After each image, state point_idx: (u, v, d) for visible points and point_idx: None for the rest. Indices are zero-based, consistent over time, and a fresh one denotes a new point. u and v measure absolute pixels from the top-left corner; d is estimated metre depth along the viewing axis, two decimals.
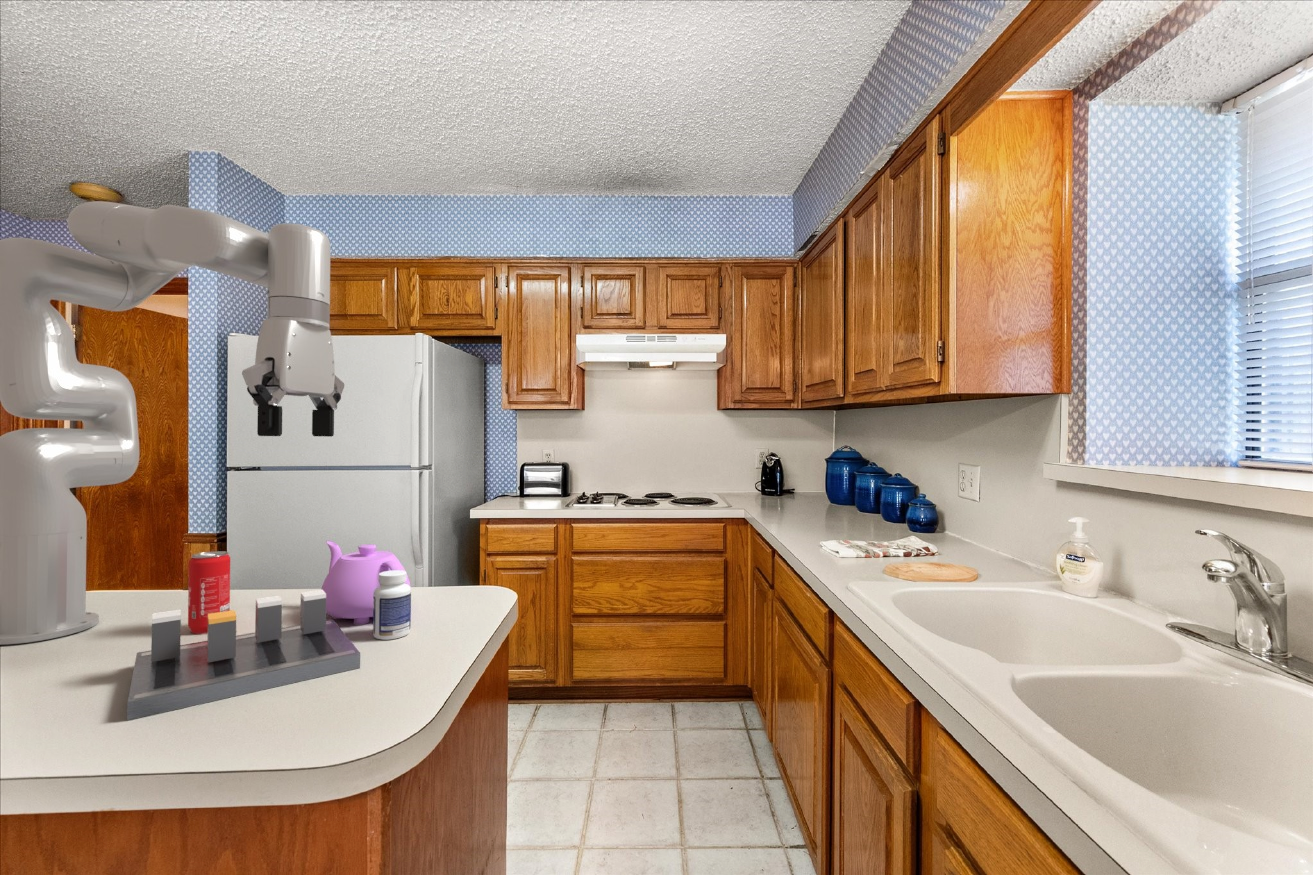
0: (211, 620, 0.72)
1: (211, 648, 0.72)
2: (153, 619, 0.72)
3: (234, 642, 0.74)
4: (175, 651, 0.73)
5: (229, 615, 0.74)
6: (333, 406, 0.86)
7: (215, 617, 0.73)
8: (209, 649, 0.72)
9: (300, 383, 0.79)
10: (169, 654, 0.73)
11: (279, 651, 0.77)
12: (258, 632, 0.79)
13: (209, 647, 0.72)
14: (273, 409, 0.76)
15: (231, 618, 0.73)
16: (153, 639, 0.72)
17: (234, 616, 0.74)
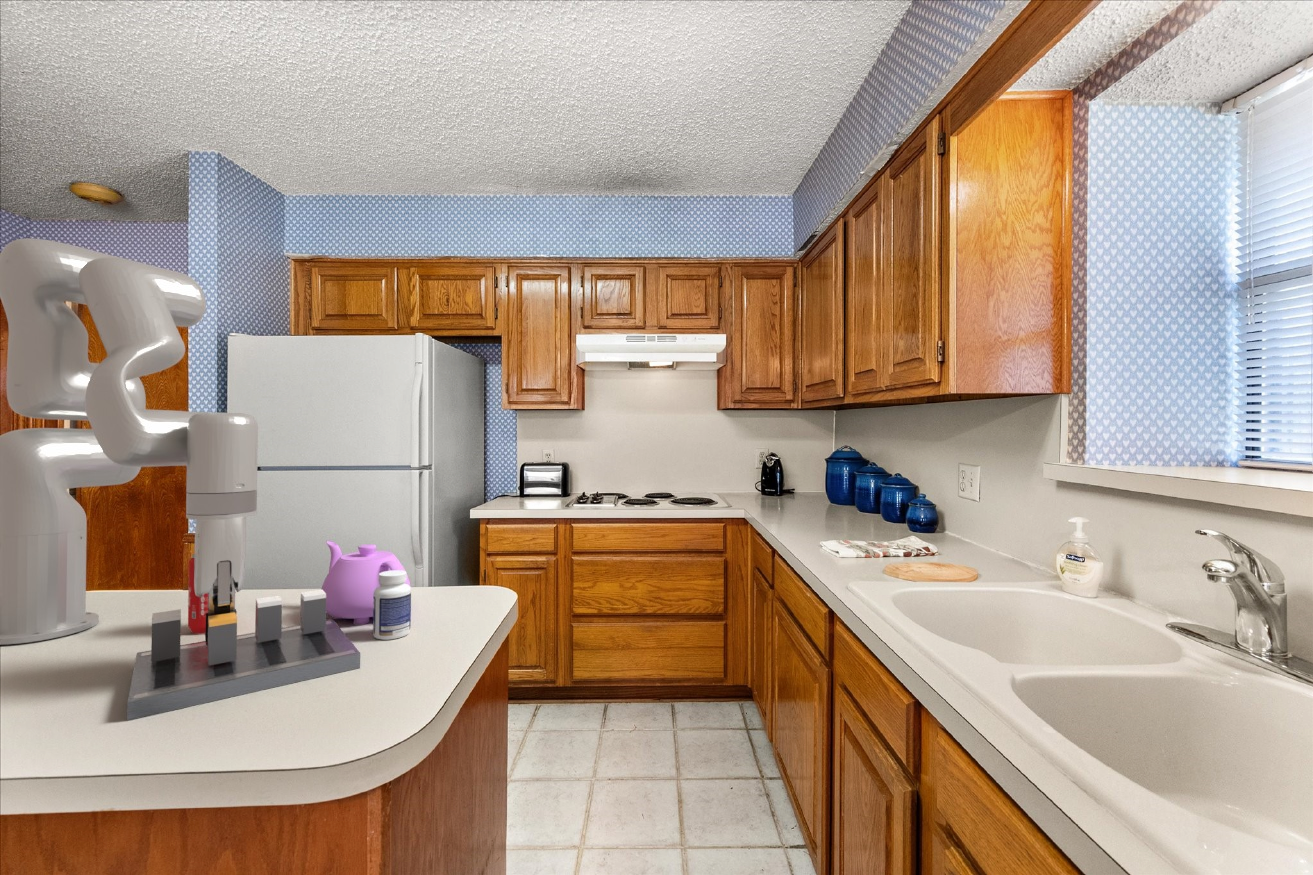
0: (211, 623, 0.71)
1: (212, 651, 0.71)
2: (153, 619, 0.72)
3: (235, 645, 0.73)
4: (175, 651, 0.73)
5: (230, 617, 0.73)
6: None
7: (215, 619, 0.72)
8: (209, 652, 0.71)
9: None
10: (169, 654, 0.73)
11: (279, 651, 0.77)
12: (258, 632, 0.79)
13: (209, 650, 0.71)
14: None
15: (232, 620, 0.72)
16: (153, 639, 0.72)
17: (235, 618, 0.73)
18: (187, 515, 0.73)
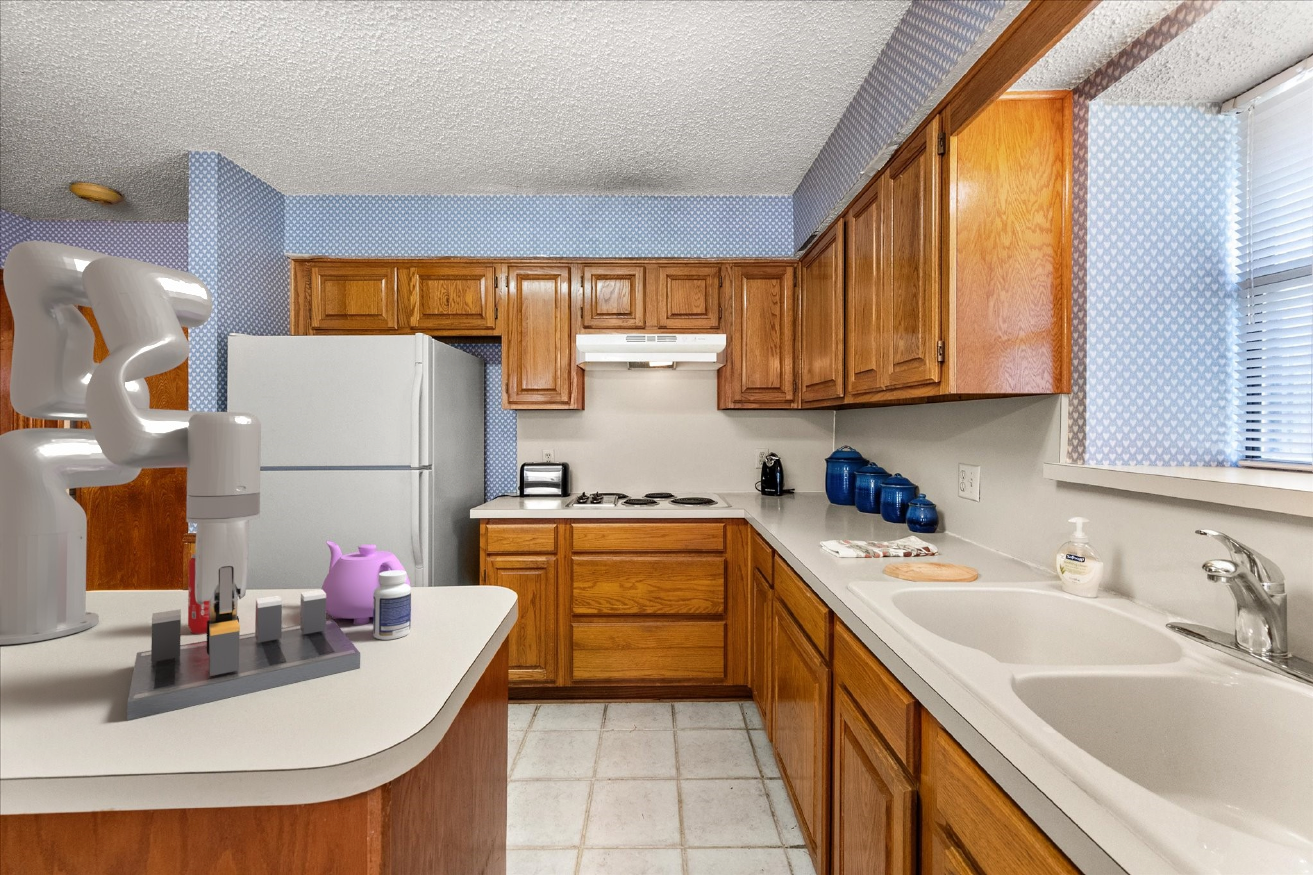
0: (213, 631, 0.68)
1: (213, 661, 0.68)
2: (153, 619, 0.72)
3: (237, 654, 0.70)
4: (175, 651, 0.73)
5: (232, 626, 0.70)
6: None
7: (217, 628, 0.69)
8: (211, 662, 0.68)
9: None
10: (169, 654, 0.73)
11: (279, 651, 0.77)
12: (258, 632, 0.79)
13: (211, 660, 0.68)
14: None
15: (234, 629, 0.69)
16: (153, 639, 0.72)
17: (237, 627, 0.70)
18: (187, 519, 0.70)
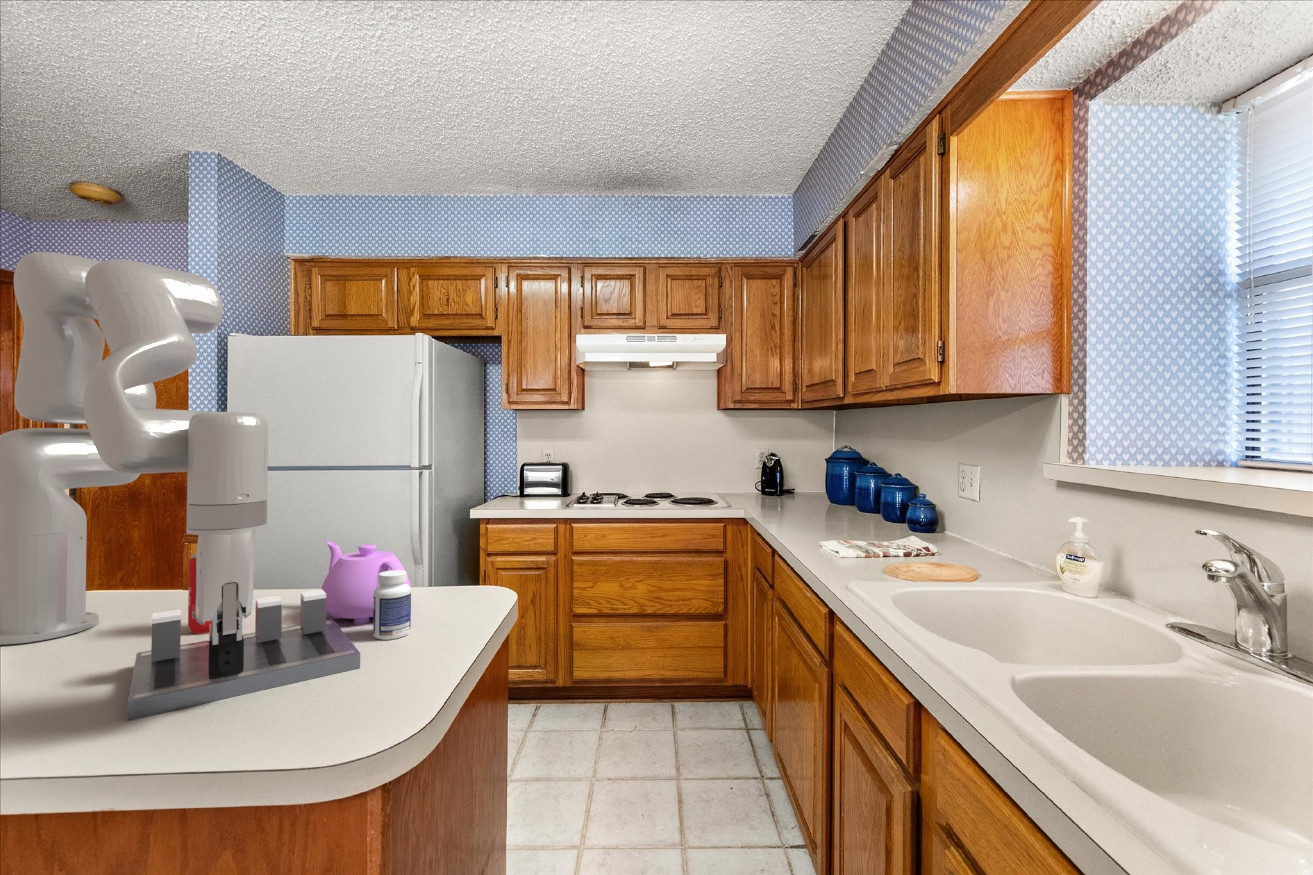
0: None
1: None
2: (153, 619, 0.72)
3: None
4: (175, 651, 0.73)
5: None
6: None
7: None
8: None
9: None
10: (169, 654, 0.73)
11: (279, 651, 0.77)
12: (258, 632, 0.79)
13: None
14: None
15: None
16: (153, 639, 0.72)
17: None
18: (188, 530, 0.64)
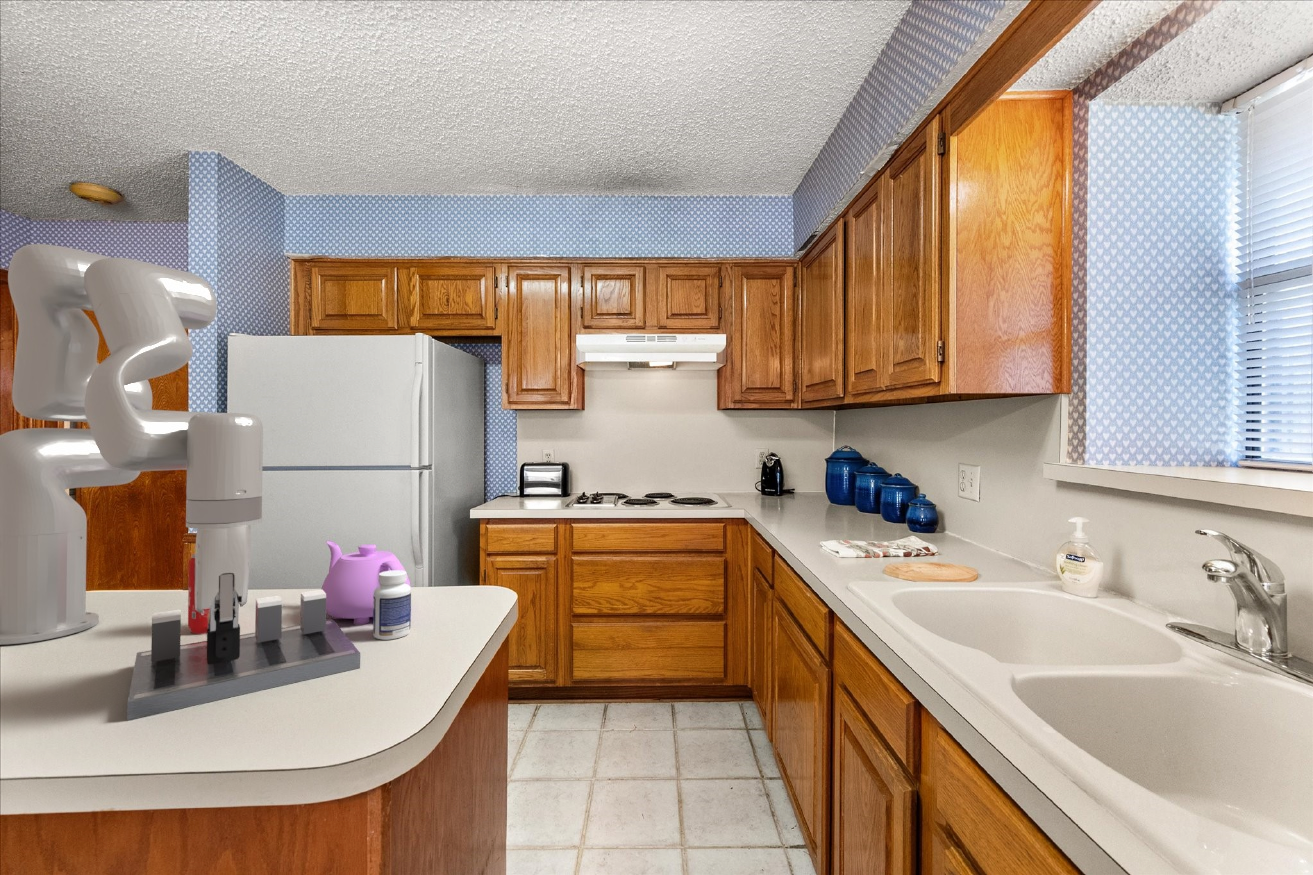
0: None
1: None
2: (153, 619, 0.72)
3: None
4: (175, 651, 0.73)
5: None
6: None
7: None
8: None
9: None
10: (169, 654, 0.73)
11: (279, 651, 0.77)
12: (258, 632, 0.79)
13: None
14: (231, 631, 0.71)
15: None
16: (153, 639, 0.72)
17: None
18: (187, 524, 0.68)
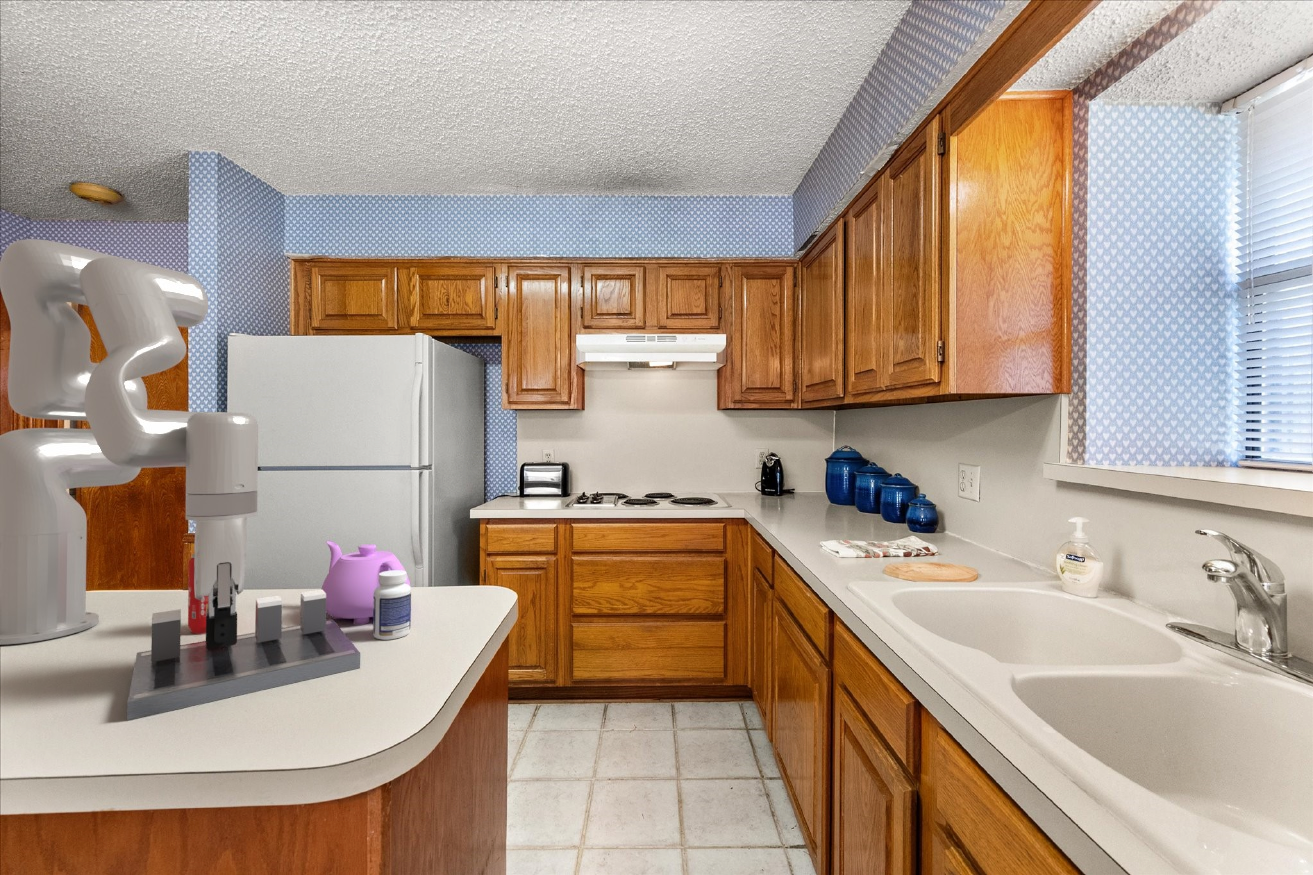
0: None
1: None
2: (153, 619, 0.72)
3: None
4: (175, 651, 0.73)
5: None
6: None
7: None
8: None
9: None
10: (169, 654, 0.73)
11: (279, 651, 0.77)
12: (258, 632, 0.79)
13: None
14: (229, 618, 0.75)
15: None
16: (153, 639, 0.72)
17: None
18: (186, 516, 0.72)
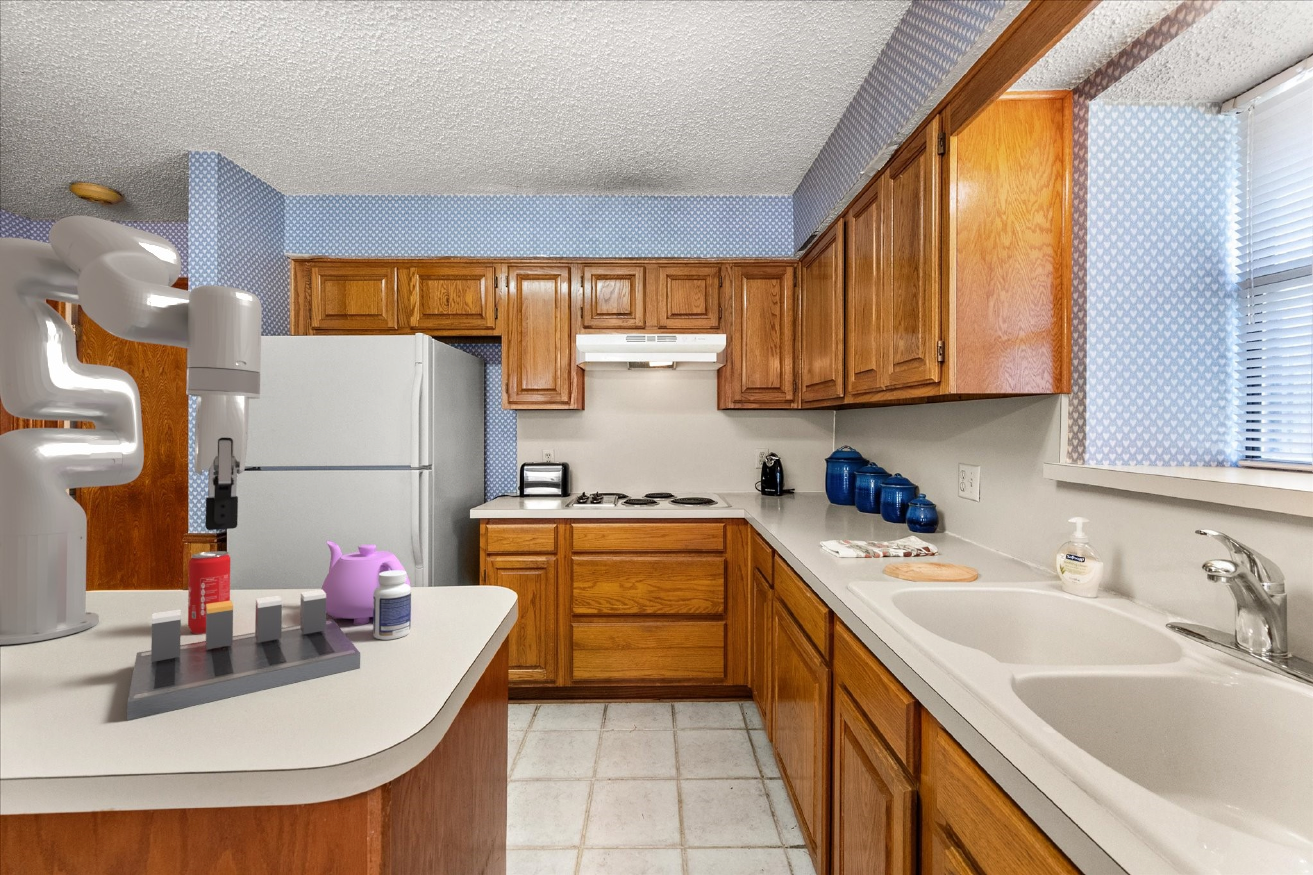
0: (209, 609, 0.76)
1: (209, 636, 0.76)
2: (153, 619, 0.72)
3: (231, 630, 0.78)
4: (175, 651, 0.73)
5: (226, 605, 0.78)
6: None
7: (213, 607, 0.77)
8: (207, 637, 0.76)
9: None
10: (169, 654, 0.73)
11: (279, 651, 0.77)
12: (258, 632, 0.79)
13: (207, 635, 0.76)
14: None
15: (228, 608, 0.78)
16: (153, 639, 0.72)
17: (231, 606, 0.78)
18: (187, 391, 0.70)
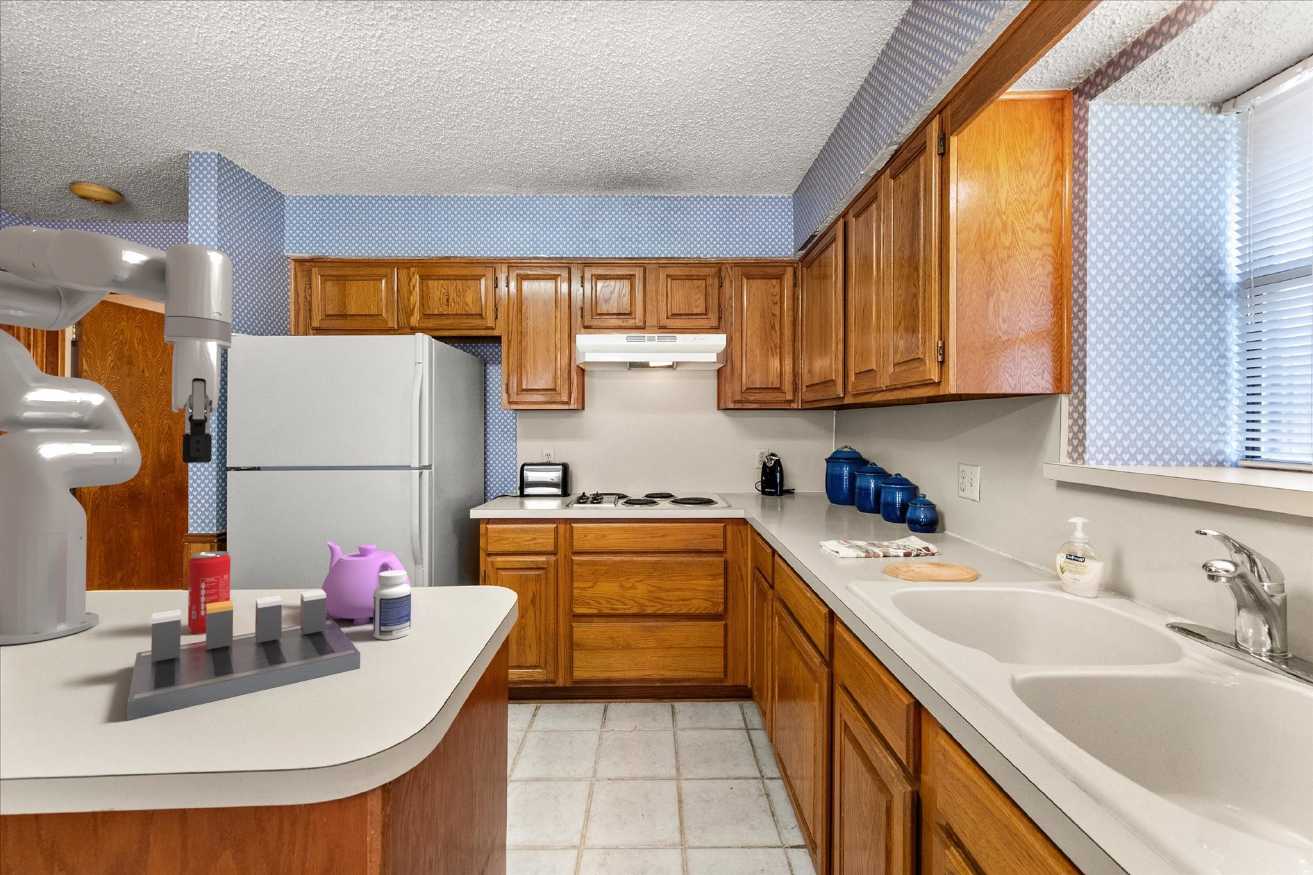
0: (209, 609, 0.76)
1: (209, 636, 0.76)
2: (153, 619, 0.72)
3: (231, 630, 0.78)
4: (175, 651, 0.73)
5: (226, 605, 0.78)
6: None
7: (213, 607, 0.77)
8: (207, 637, 0.76)
9: None
10: (169, 654, 0.73)
11: (279, 651, 0.77)
12: (258, 632, 0.79)
13: (207, 635, 0.76)
14: (204, 437, 0.82)
15: (228, 608, 0.78)
16: (153, 639, 0.72)
17: (231, 606, 0.78)
18: (165, 338, 0.79)
